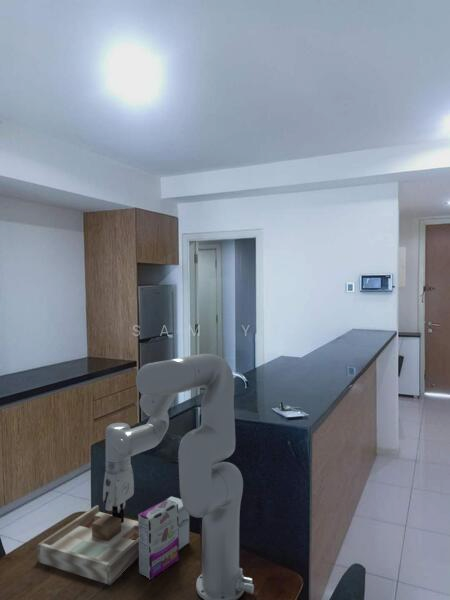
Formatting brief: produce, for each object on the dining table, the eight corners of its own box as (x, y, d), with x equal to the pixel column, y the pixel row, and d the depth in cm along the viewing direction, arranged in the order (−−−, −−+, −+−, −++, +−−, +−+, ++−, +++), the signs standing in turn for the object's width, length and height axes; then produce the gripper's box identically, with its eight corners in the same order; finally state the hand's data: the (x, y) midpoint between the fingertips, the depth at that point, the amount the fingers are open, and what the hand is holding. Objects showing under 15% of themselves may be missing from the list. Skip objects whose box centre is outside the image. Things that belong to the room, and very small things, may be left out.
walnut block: (121, 531, 135) (121, 518, 135) (108, 541, 130) (108, 527, 130) (105, 527, 138) (105, 514, 138) (92, 536, 132) (92, 523, 132)
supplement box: (174, 554, 128) (174, 511, 128) (155, 546, 133) (155, 504, 132) (190, 542, 135) (190, 501, 134) (171, 535, 139) (171, 495, 138)
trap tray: (161, 536, 138) (161, 520, 138) (110, 585, 115) (110, 565, 115) (96, 520, 148) (96, 505, 148) (37, 561, 125) (37, 544, 125)
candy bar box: (166, 554, 129) (166, 498, 128) (179, 560, 126) (179, 503, 125) (137, 573, 120) (137, 513, 119) (150, 581, 117) (150, 519, 116)
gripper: (112, 475, 130) (112, 537, 130) (142, 457, 143) (142, 514, 144) (92, 470, 133) (92, 531, 133) (123, 454, 147) (122, 509, 147)
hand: (118, 522), depth 139 cm, fingers closed
